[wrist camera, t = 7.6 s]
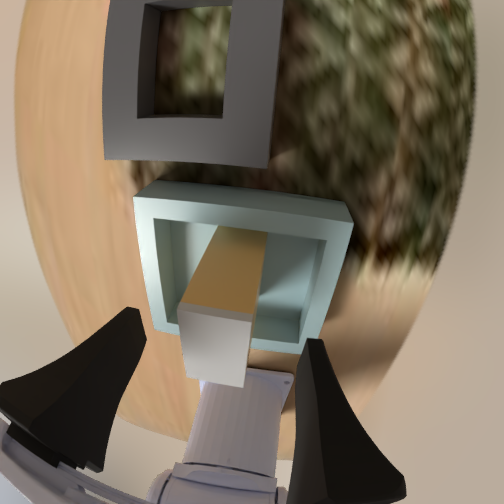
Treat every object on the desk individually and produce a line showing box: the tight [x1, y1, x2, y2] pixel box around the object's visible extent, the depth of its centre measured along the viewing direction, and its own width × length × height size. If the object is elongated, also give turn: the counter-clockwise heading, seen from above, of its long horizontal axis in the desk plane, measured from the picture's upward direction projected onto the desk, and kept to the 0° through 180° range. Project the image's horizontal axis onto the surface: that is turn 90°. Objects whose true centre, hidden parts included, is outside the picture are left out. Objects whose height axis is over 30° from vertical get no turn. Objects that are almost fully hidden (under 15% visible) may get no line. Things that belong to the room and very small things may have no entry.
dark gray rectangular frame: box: [102, 0, 285, 169], centre depth 10 cm, size 10×8×2 cm
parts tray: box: [133, 180, 354, 354], centre depth 15 cm, size 9×10×2 cm
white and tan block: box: [177, 226, 268, 388], centre depth 13 cm, size 4×3×6 cm, turn 175°
